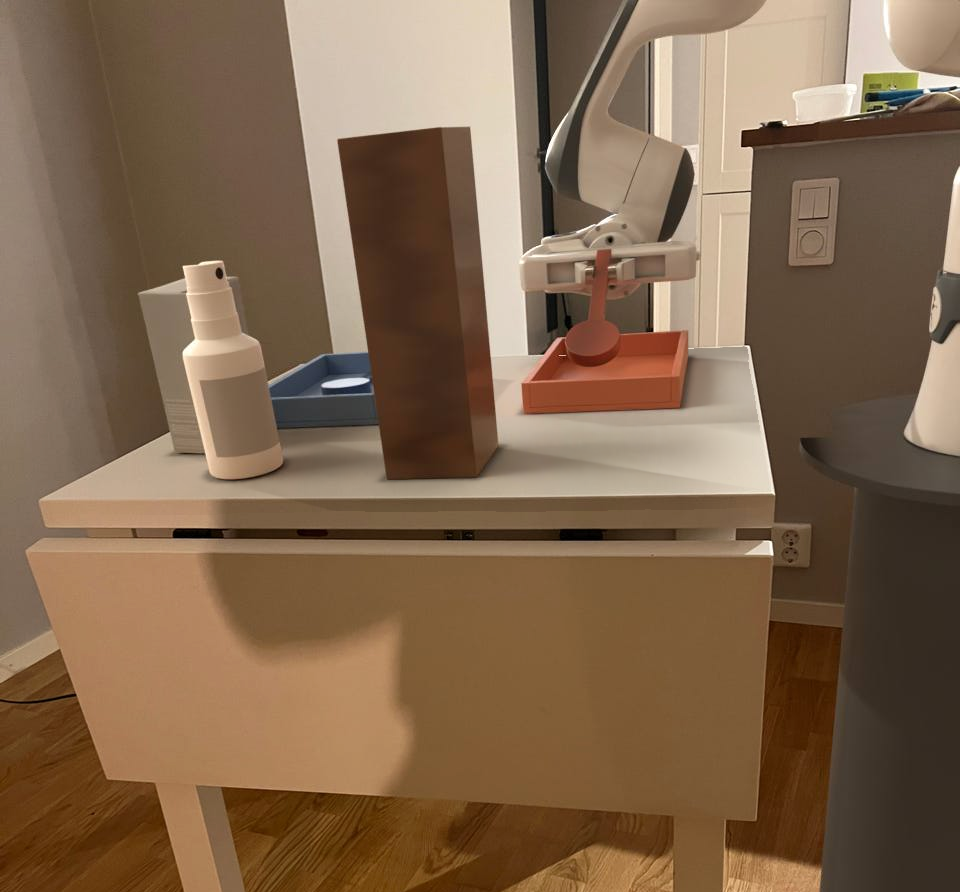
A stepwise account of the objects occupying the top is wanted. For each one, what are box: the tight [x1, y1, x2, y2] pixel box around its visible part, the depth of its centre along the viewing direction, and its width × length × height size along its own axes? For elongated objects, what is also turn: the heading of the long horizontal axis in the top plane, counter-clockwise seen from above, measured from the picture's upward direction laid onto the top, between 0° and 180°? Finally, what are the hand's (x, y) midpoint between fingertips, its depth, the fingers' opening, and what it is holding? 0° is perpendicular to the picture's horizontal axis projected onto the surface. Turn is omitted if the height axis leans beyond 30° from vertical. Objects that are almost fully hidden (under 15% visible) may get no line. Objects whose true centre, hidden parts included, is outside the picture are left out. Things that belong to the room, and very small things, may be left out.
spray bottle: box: [182, 260, 284, 480], centre depth 85 cm, size 7×7×18 cm
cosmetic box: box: [137, 276, 250, 454], centre depth 95 cm, size 8×7×16 cm
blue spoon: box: [321, 372, 372, 395], centre depth 115 cm, size 6×18×2 cm, turn 167°
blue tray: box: [268, 351, 379, 429], centre depth 110 cm, size 16×24×3 cm, turn 167°
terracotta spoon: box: [565, 249, 621, 367], centre depth 102 cm, size 6×18×2 cm
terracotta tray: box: [520, 329, 689, 415], centre depth 105 cm, size 16×24×3 cm, turn 167°
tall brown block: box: [336, 125, 499, 480], centre depth 79 cm, size 8×9×26 cm
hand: (600, 275), depth 104 cm, fingers closed on terracotta spoon, 2 cm apart
